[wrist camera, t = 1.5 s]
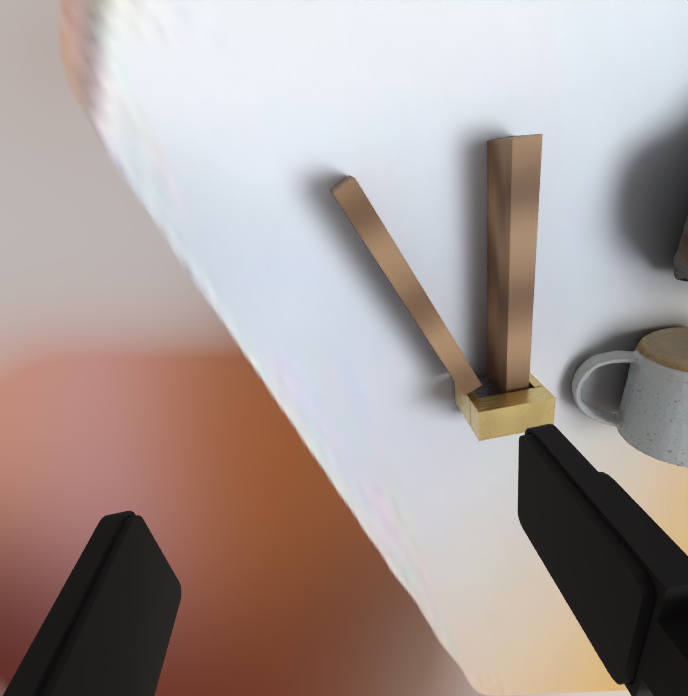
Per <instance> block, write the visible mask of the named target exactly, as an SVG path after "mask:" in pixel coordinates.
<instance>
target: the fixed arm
mask: <svg viewBox="0 0 688 696" xmlns="http://www.w3.org/2000/svg"><path fill="white" fill-rule="evenodd" d="M541 151H542V134H534V135H522V136H512V137H506V138H501V139H495V140H490V141H488V377H489V378H490V380H491V381H492V382H493V383H494V385H495V386H496V387H497V388H498V389H499V391H500V392H501V393H502V394H504V393H510V392H515V391H520V390H526V389H529V373H530V354H531V336H532V317H533V299H534V280H535V262H536V243H537V225H538V206H539V188H540V169H541Z"/></svg>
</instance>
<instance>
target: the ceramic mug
mask: <svg viewBox="0 0 688 696" xmlns="http://www.w3.org/2000/svg"><path fill="white" fill-rule="evenodd" d="M621 362H626V363H630V367H629V372H628V377H627V382H626V385H625V388H624V392H623V395H622V399H621V403H620V408H619V411H618V414H612V413H607V412H604V411H600V410H598V409H595V408H593V407H591V406H589V405H588V404H586V403H585V402H584V401H583V400H582V399H581V389H582V385H583V383H584V381H585V380H586V379H587V378H588V377H589V376H590V373H591V372H593V371H594V370H595V369H596V368H598V367H600V366H603V365H607V364H610V363H621ZM572 392H573V396H574V400H575V402H576V404H577V406H578V408H579V409H580V410H581V411H582V412H584V413H585V414H586V415H587V416H589V417H590V418H592V419H594V420H597V421H599V422H601V423H604V424H608V425H611V426H616V427H617V429H618V432H619V433H620V435H621V436H622V437H623V438H624V440H625V441H626V442H628V443H629V444H630V445H631V446H633V447H634V448H636V449H637V450H639V451H641V452H643V453H644V454H646V455H649V456H651V457H653V458H655V459H657V460H661V461H664V462H667V463H670V464H674V465H677V466H682V467H687V468H688V327H676V328H666V329H661V330H658V331H654V332H652V333H650V334H648V335H646V336H644V337H643V338H642V339H641V340H640V341H639V343H638V346H637V348H636V349H635V351H633V352H632V351H622V350H621V351H611V352H605V353H602V354H597V355H595V356H593V357H591V358H589V359H587V360H586V361H585V362H584V363H582V364H581V365H580V367H579V368H578V369H577V370H576V372H575V374H574V377H573V380H572Z"/></svg>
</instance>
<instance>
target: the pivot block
mask: <svg viewBox="0 0 688 696" xmlns="http://www.w3.org/2000/svg"><path fill="white" fill-rule="evenodd" d="M478 379H479V381H480V383H481V384H482V386H480V387H478V388H476V389H475V390H473V391H474V392H475V394H476V395H477V397H478V398H483V397H488V396H494V395H499V394H502V393H501V392H500V391H499V389H498V388H497V387H496V386H495V385H494V383H493V382H492V381H491V380H490V378H489V377H488V376H486V377H481V378H478Z"/></svg>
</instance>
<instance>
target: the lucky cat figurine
mask: <svg viewBox="0 0 688 696" xmlns="http://www.w3.org/2000/svg"><path fill="white" fill-rule="evenodd" d="M673 267H674V275H675V278H676V279H678V280H682V281H688V217H687V220H686V223H685V226H684V230H683V233H682V237H681V240H680V244H679V248H678V251H677V252H676V254H675V256H674V260H673Z"/></svg>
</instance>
